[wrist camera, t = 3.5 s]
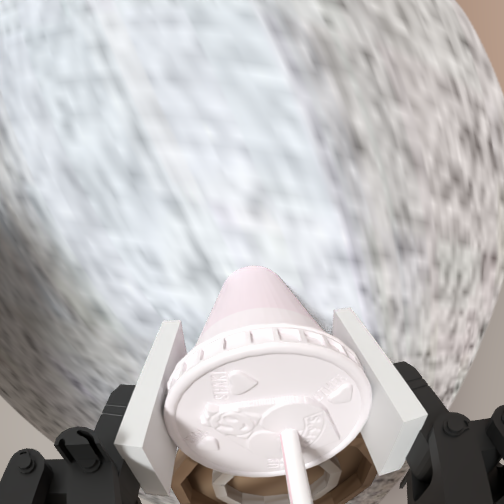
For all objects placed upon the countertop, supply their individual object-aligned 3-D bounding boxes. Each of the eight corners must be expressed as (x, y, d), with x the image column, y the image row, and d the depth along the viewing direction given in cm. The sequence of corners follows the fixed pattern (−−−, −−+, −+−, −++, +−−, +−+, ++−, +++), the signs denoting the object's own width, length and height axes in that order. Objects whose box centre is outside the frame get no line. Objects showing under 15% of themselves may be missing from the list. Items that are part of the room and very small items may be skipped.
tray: (153, 483, 22) (149, 503, 20) (224, 376, 18) (223, 405, 16) (301, 510, 25) (304, 528, 23) (406, 423, 21) (418, 443, 19)
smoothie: (282, 355, 18) (333, 573, 5) (183, 325, 17) (124, 560, 4) (327, 264, 17) (490, 471, 3) (218, 224, 16) (146, 481, 2)
